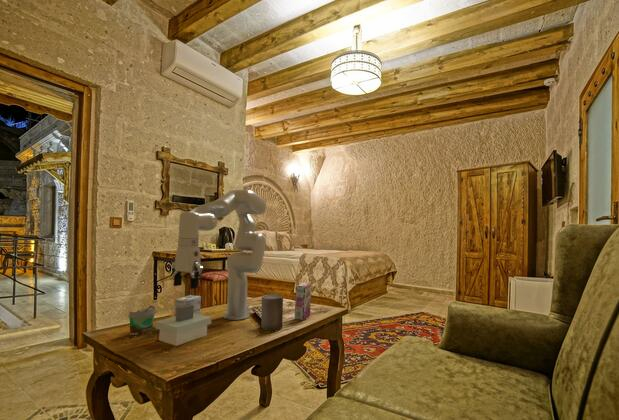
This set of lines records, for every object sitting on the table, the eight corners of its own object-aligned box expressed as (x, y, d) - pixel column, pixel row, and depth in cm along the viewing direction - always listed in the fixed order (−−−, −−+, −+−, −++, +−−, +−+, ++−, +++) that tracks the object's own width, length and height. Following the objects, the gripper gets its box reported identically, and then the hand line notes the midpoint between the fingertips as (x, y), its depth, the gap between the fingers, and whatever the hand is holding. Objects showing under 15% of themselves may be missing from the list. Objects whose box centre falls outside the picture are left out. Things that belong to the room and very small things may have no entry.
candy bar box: (303, 320, 153) (304, 286, 154) (294, 319, 155) (295, 285, 156) (310, 315, 164) (311, 283, 165) (301, 314, 165) (302, 282, 166)
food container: (140, 339, 122) (142, 313, 122) (127, 338, 123) (128, 312, 124) (161, 330, 134) (163, 306, 134) (149, 328, 135) (150, 305, 136)
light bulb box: (188, 317, 154) (190, 294, 155) (200, 318, 152) (201, 295, 153) (173, 323, 144) (174, 299, 145) (185, 324, 142) (186, 300, 143)
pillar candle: (286, 326, 144) (287, 292, 145) (274, 331, 135) (275, 296, 136) (268, 323, 148) (269, 290, 150) (256, 328, 140) (257, 294, 141)
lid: (191, 318, 133) (191, 300, 133) (211, 323, 127) (212, 304, 127) (155, 328, 119) (156, 308, 119) (176, 334, 113) (177, 313, 113)
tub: (189, 333, 131) (190, 315, 131) (206, 337, 126) (207, 319, 126) (158, 343, 119) (160, 324, 119) (176, 348, 114) (177, 328, 114)
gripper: (211, 243, 124) (208, 288, 122) (182, 242, 132) (179, 283, 131) (195, 244, 117) (192, 291, 116) (166, 242, 126) (163, 285, 125)
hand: (185, 286), depth 123 cm, fingers open, 9 cm apart
